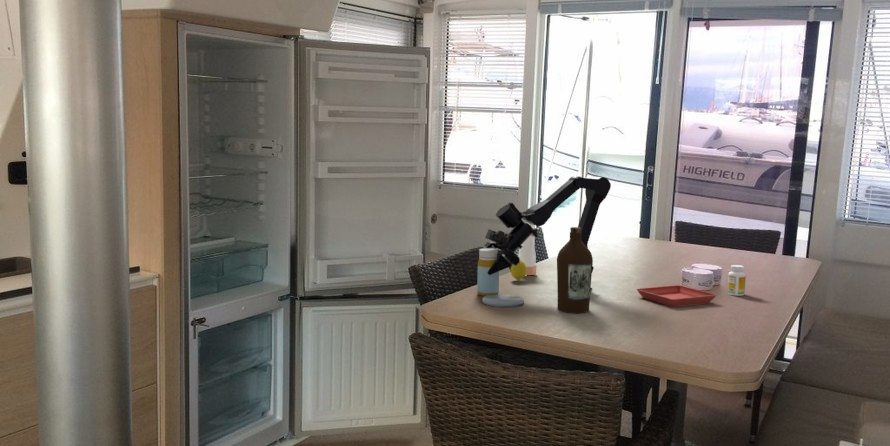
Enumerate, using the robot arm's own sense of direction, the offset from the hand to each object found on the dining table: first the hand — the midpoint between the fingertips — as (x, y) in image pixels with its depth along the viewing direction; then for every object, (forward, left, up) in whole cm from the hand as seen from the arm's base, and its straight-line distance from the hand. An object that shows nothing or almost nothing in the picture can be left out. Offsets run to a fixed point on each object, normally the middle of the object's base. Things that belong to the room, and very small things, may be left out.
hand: (484, 272), depth 247 cm
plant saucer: (-47, -40, -8) cm, 62 cm away
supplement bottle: (-56, -64, -8) cm, 85 cm away
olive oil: (-33, -4, -8) cm, 34 cm away
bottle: (-1, -1, -8) cm, 8 cm away
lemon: (+8, -27, -8) cm, 30 cm away
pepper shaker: (+14, -39, -8) cm, 42 cm away
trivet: (-12, +4, -8) cm, 14 cm away
